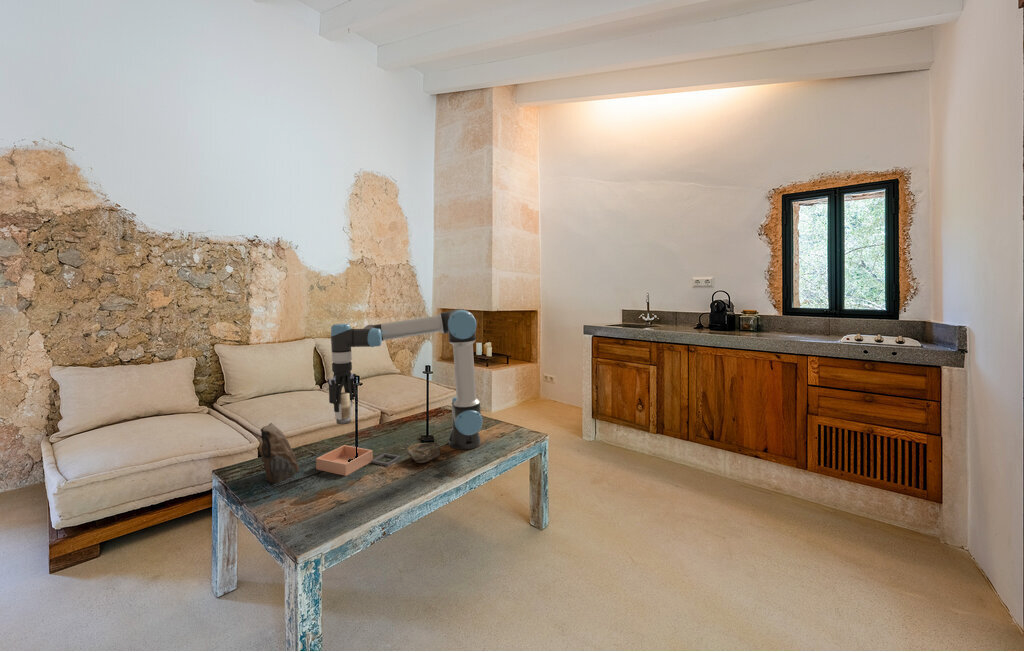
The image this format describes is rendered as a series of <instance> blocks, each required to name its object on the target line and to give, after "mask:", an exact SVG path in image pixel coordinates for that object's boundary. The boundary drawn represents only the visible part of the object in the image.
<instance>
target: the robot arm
mask: <svg viewBox="0 0 1024 652" xmlns="http://www.w3.org/2000/svg"><path fill="white" fill-rule="evenodd" d="M330 329H331V330H330V345H331V362H332V363H331V368H332V369H331V371H332V372H333V376H332V378H330V379H327V384H328V400H329V401H328V402H329V404H333V412H334V418H335V420H336V419H339V420H341V419H342V410H341V404H340V397H341V393H342V389H344V392H347V393H349V396H350V416H351V417H352V414H353V410H352V408H353V401H354V400H355V397H357V387H356V388H355V385H353V381H354V377H355V376H356V377H357V374H356V373H352V372H351V371H352V370H353V365H352V364H353V362H352V358H353V357H352V355H353V354H352V348H370V347H371V348H375V347H380V346H381V345H382V343H383V341H391V340H395V339H403V338H410V337H416V336H422V335H429V334H435V333H436V334H437V333H441V334H442V335H443V334H444V335H445V334H448V343H449V344H451V345H452V351H453V352H452V353H453V365H454V366H453V367H454V369H453V370H454V382H455V396H453V397H452V398H451V417H452V418H451V421H452V422H451V423H452V424H451V425H452V428H451V432H450V435H449V438H448V445H449V447H450V448H452V449H456V450H471V449H475V448H478V447H479V446H480V445H481V444H482V442H481V441H482V440H481V439H482V438H481V435H480V433H479V431H480V430H481V428H482V426H483V421H484V420H483V416H482V413H481V401H480V399H478V398H477V391H476V375H475V373H476V371H475V360H474V343H475V342H476V341H477V335H476V331H477V330H476V329H477V319H476V318H475V316H474V315H473V313H472V312H470V311H469V310H466V309H464V308H456V309H453V310H449V311H444V312H439V313H438V314H437V315H434V316H427V317H420V318H418V317H417V318H412V319H406V320H400V321H393V322H385V323H380V324H379V323H378V324H369V325H366V326H364V327H363V328H352V327H351V324H349V323H336V324H332V325H331V326H330ZM354 384H355V383H354Z"/></svg>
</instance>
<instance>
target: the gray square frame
mask: <svg viewBox="0 0 1024 652" xmlns="http://www.w3.org/2000/svg"><path fill="white" fill-rule="evenodd" d="M384 457H385V458H386V457H388V458H391V460H390V461H387V462H385V461H379V460H381V459H382V458H384ZM392 458H393V459H392ZM401 458H402V456H401V455H397V454H391V453H386V452H385V453H382V454H380V455H378V456H376V457H375V458H373V460H371V462H370V463H371V464H376V465H378V466H379V465H380V466H385V467H389V466H390V465H393V464H394V463H396V462H398V461H399V460H400V459H401Z"/></svg>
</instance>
